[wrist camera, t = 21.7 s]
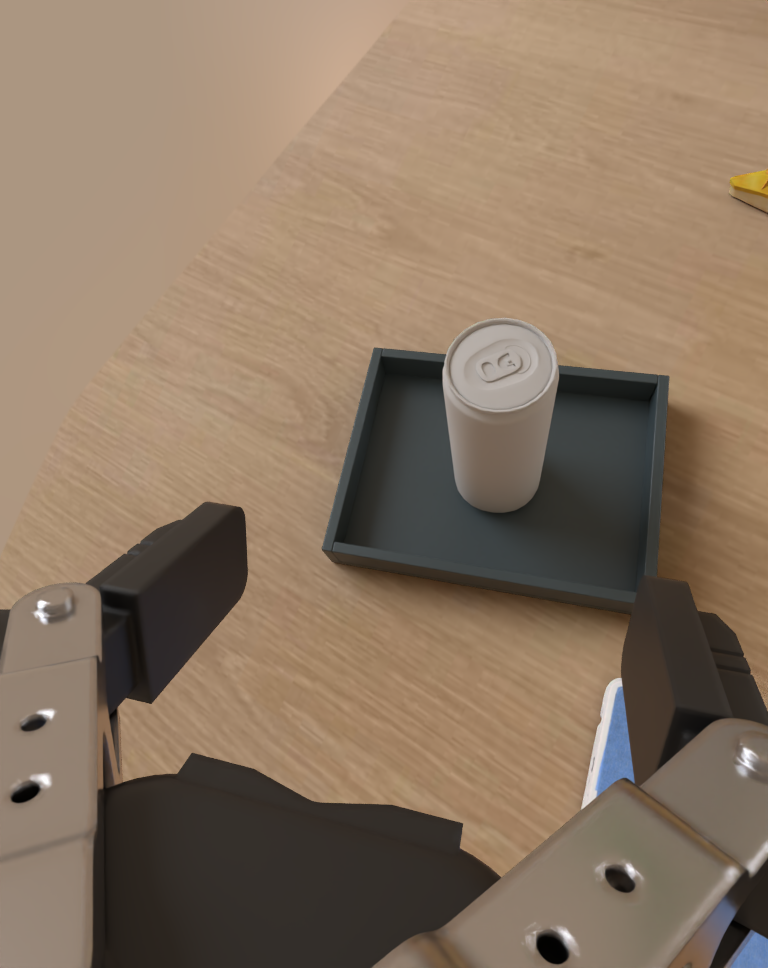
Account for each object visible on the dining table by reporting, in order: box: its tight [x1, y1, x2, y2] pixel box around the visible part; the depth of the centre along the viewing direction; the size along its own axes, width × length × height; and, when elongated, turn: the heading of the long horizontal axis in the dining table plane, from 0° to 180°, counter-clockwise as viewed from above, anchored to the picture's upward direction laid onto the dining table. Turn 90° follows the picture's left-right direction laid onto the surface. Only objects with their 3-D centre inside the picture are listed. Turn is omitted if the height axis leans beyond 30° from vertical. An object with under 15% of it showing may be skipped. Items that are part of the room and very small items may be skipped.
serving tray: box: [322, 348, 669, 614], centre depth 36 cm, size 17×13×2 cm
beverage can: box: [443, 318, 559, 513], centre depth 31 cm, size 5×5×12 cm
